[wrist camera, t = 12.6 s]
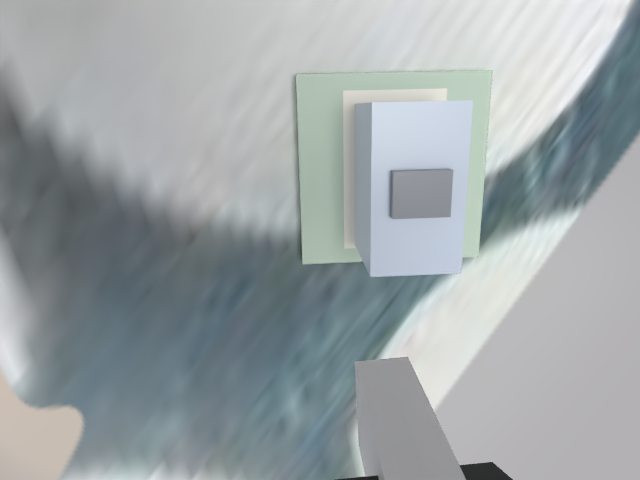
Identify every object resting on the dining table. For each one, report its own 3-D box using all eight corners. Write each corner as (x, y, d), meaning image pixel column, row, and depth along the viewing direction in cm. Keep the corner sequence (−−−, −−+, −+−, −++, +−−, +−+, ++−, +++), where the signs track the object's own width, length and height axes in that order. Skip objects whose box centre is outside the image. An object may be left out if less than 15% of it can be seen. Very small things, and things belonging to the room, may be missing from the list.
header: (295, 75, 28) (297, 68, 23) (484, 71, 29) (525, 64, 24) (302, 258, 32) (304, 286, 27) (471, 251, 32) (504, 277, 27)
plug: (354, 103, 28) (374, 102, 22) (435, 102, 28) (478, 100, 22) (355, 245, 30) (372, 281, 24) (429, 242, 31) (465, 277, 24)
